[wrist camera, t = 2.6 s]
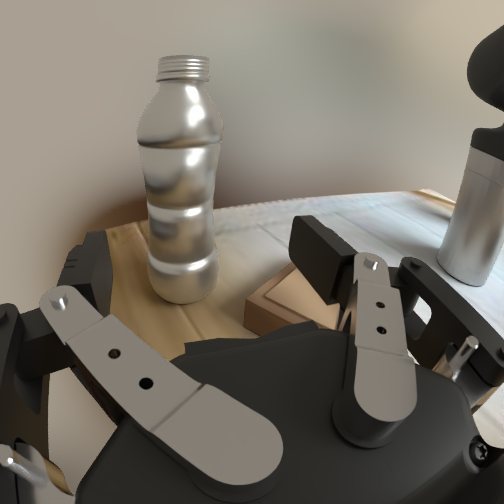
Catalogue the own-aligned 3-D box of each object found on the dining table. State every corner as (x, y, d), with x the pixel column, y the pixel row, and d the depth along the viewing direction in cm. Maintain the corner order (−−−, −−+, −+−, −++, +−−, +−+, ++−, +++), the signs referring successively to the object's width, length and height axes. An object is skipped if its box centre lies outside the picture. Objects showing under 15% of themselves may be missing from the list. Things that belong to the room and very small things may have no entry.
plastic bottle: (227, 277, 29) (241, 63, 19) (203, 322, 23) (209, 49, 13) (170, 264, 30) (168, 65, 20) (137, 303, 24) (119, 60, 14)
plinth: (309, 266, 32) (315, 241, 30) (407, 309, 26) (419, 284, 24) (243, 326, 23) (245, 296, 22) (375, 396, 17) (393, 369, 16)
